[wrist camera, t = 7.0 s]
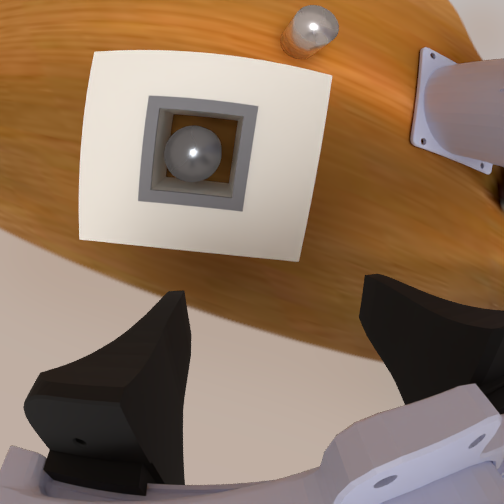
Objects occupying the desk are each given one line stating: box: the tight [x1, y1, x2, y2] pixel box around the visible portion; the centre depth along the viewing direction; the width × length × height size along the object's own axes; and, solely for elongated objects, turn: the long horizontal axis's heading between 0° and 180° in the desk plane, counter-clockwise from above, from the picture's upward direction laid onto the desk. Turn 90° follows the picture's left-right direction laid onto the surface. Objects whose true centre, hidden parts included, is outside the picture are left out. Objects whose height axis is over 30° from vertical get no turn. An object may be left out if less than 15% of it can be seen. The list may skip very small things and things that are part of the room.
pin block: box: [79, 50, 332, 262], centre depth 16 cm, size 12×10×5 cm
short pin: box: [280, 5, 339, 59], centre depth 14 cm, size 2×2×4 cm
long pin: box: [164, 126, 221, 182], centre depth 15 cm, size 2×2×6 cm
